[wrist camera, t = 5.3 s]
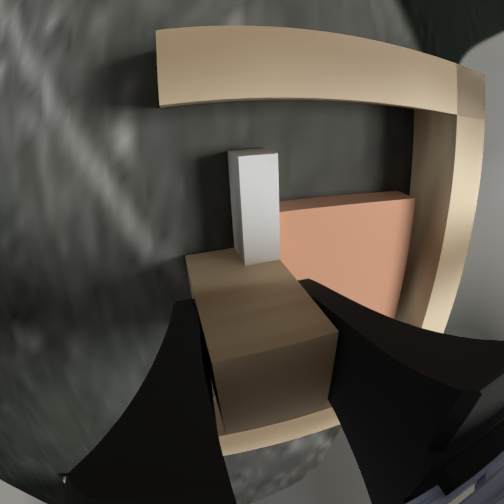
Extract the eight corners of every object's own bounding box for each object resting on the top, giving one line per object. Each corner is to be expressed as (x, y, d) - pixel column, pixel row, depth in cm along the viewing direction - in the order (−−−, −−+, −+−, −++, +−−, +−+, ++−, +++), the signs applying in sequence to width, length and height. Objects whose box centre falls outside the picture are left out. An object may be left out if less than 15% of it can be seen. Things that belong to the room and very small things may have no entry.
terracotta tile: (378, 303, 15) (394, 319, 14) (266, 331, 14) (277, 352, 13) (393, 188, 13) (415, 198, 12) (263, 200, 12) (276, 212, 10)
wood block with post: (268, 366, 15) (314, 458, 10) (207, 380, 14) (236, 481, 9) (262, 147, 10) (352, 182, 6) (172, 157, 10) (187, 200, 5)
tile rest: (398, 365, 18) (419, 390, 16) (210, 419, 16) (219, 456, 13) (443, 72, 11) (484, 74, 9) (157, 49, 8) (155, 30, 6)
